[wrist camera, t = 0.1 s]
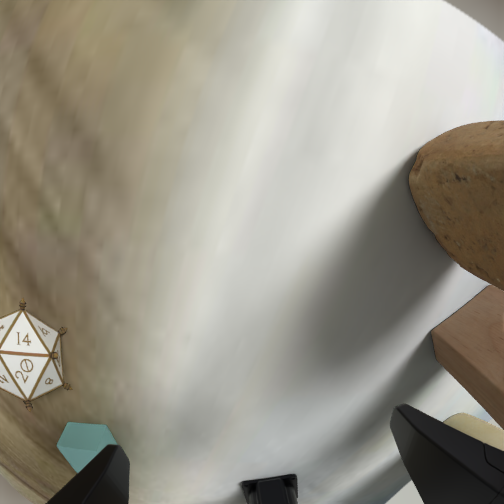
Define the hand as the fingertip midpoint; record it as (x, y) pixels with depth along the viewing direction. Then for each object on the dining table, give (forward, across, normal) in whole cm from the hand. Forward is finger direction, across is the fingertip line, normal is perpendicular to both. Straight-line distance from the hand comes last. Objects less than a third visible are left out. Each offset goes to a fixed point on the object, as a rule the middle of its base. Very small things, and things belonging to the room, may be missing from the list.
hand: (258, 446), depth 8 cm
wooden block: (+15, -22, +8) cm, 28 cm away
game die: (+15, +18, +3) cm, 23 cm away
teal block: (+15, +18, +16) cm, 28 cm away
